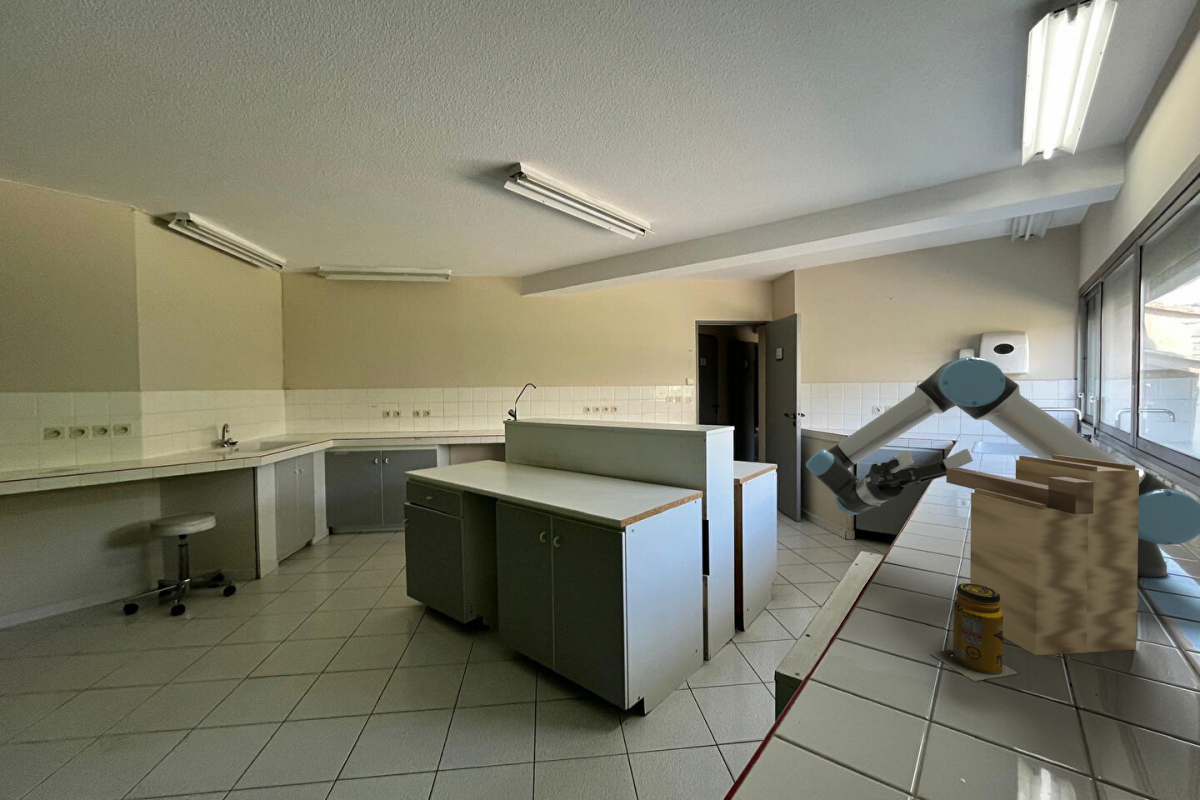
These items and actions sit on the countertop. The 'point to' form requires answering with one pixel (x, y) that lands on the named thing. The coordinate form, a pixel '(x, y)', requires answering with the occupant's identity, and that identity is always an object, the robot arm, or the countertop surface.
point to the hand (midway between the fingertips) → (939, 455)
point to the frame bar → (1031, 489)
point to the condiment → (976, 634)
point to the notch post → (1062, 559)
